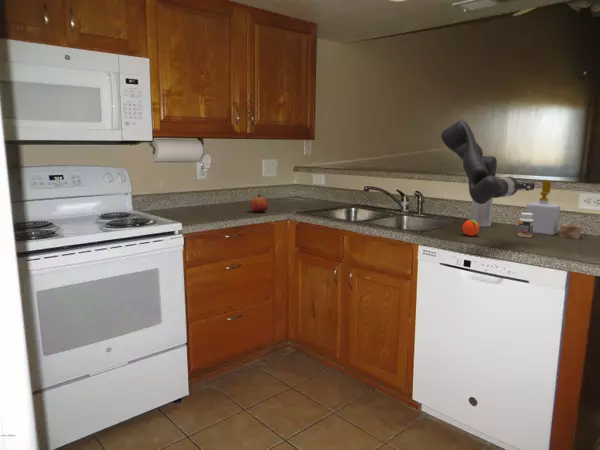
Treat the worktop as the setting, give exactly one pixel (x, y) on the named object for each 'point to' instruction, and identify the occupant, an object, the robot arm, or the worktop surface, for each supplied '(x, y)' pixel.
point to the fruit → (259, 204)
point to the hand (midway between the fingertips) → (519, 184)
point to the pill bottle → (525, 225)
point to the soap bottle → (544, 213)
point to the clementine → (470, 227)
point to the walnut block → (570, 231)
